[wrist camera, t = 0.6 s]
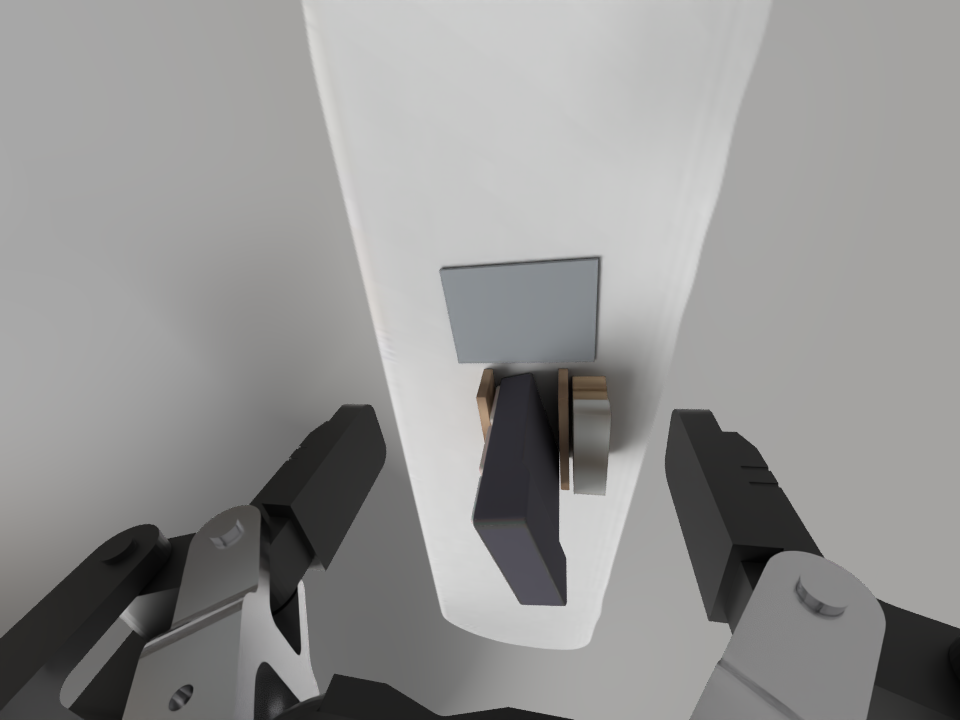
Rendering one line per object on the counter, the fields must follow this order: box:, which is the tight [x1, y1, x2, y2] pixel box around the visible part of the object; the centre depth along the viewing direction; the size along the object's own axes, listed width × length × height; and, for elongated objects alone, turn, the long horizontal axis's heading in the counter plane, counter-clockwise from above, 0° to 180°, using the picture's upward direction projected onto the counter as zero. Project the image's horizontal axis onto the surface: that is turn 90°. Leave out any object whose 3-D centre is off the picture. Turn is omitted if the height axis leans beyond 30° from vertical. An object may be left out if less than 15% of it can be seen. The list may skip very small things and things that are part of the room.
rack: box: [476, 369, 569, 490], centre depth 36 cm, size 12×8×4 cm, turn 8°
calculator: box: [471, 374, 567, 606], centre depth 32 cm, size 11×4×15 cm, turn 20°
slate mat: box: [439, 258, 598, 363], centre depth 31 cm, size 9×12×1 cm
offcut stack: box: [573, 376, 611, 496], centre depth 35 cm, size 11×3×5 cm, turn 8°
